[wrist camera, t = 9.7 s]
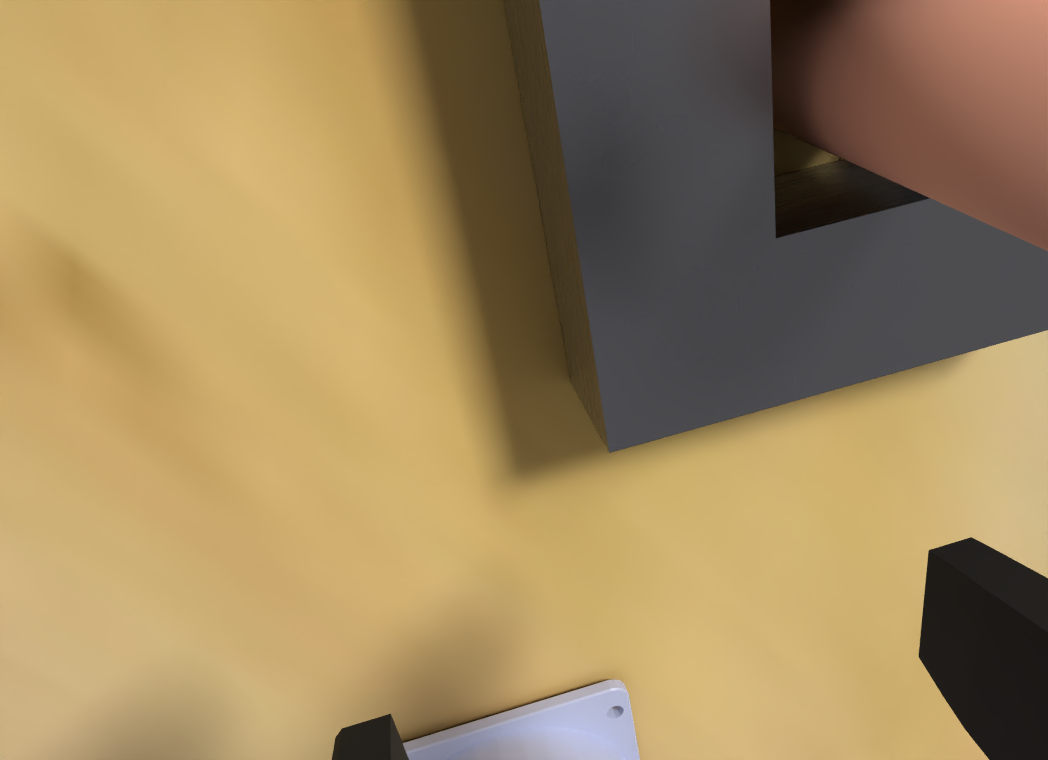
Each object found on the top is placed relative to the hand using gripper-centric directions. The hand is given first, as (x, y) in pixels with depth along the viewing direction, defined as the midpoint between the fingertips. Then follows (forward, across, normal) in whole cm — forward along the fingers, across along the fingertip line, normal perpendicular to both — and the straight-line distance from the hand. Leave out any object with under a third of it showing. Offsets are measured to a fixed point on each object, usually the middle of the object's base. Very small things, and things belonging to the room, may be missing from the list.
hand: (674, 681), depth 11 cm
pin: (+9, -7, -5) cm, 13 cm away
